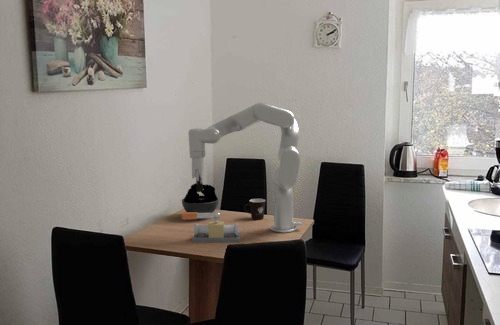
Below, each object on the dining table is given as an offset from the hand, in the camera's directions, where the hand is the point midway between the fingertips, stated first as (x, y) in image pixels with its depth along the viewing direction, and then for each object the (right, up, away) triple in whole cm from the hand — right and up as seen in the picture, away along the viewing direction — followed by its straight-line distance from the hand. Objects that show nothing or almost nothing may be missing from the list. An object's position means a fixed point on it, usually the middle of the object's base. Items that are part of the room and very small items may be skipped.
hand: (199, 191), depth 260 cm
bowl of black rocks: (-3, -16, +35) cm, 38 cm away
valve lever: (+1, -12, -8) cm, 15 cm away
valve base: (+9, -22, -6) cm, 25 cm away
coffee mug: (+27, -17, +31) cm, 44 cm away
